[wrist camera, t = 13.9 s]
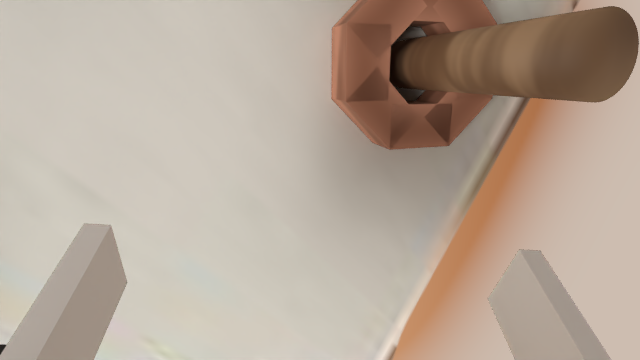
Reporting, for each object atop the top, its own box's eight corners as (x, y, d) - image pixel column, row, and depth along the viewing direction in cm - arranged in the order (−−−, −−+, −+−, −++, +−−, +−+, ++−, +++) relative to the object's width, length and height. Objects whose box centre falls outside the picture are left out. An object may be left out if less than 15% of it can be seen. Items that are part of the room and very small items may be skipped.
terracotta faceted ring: (298, 63, 28) (309, 62, 25) (411, -59, 28) (435, -74, 25) (398, 170, 32) (417, 179, 29) (495, 65, 32) (523, 64, 30)
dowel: (373, 64, 29) (553, 54, 14) (405, 29, 29) (617, -15, 14) (402, 98, 31) (591, 121, 16) (432, 64, 31) (650, 56, 16)
